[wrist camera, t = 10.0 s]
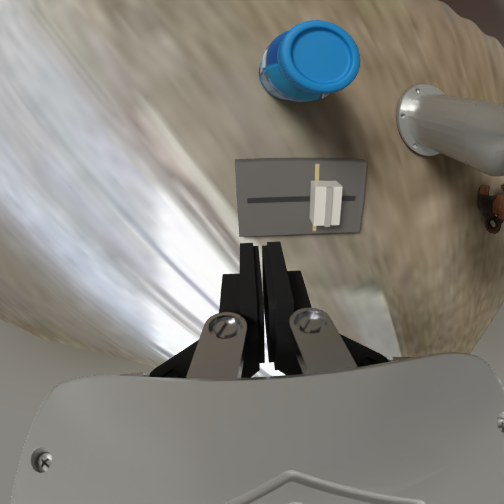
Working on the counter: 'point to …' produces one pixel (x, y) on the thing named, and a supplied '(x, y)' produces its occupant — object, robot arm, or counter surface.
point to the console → (295, 194)
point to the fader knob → (325, 203)
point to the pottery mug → (491, 208)
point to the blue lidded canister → (309, 62)
